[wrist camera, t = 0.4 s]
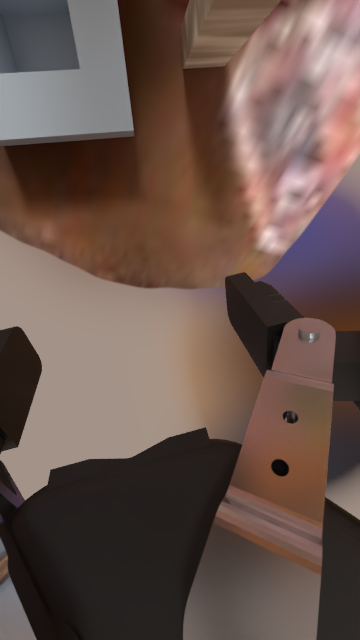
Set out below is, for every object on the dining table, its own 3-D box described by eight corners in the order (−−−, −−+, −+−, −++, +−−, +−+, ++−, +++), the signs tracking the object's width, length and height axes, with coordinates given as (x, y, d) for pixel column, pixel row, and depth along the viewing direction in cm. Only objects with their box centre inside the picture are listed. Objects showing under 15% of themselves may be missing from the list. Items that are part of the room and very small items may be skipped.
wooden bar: (180, 28, 27) (224, -114, 14) (224, 26, 28) (310, -114, 14) (182, 68, 29) (223, -22, 15) (224, 66, 29) (302, -25, 15)
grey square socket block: (-61, -53, 23) (-118, -116, 18) (110, -56, 24) (102, -117, 19) (3, 146, 30) (-25, 141, 25) (134, 136, 31) (133, 130, 26)
